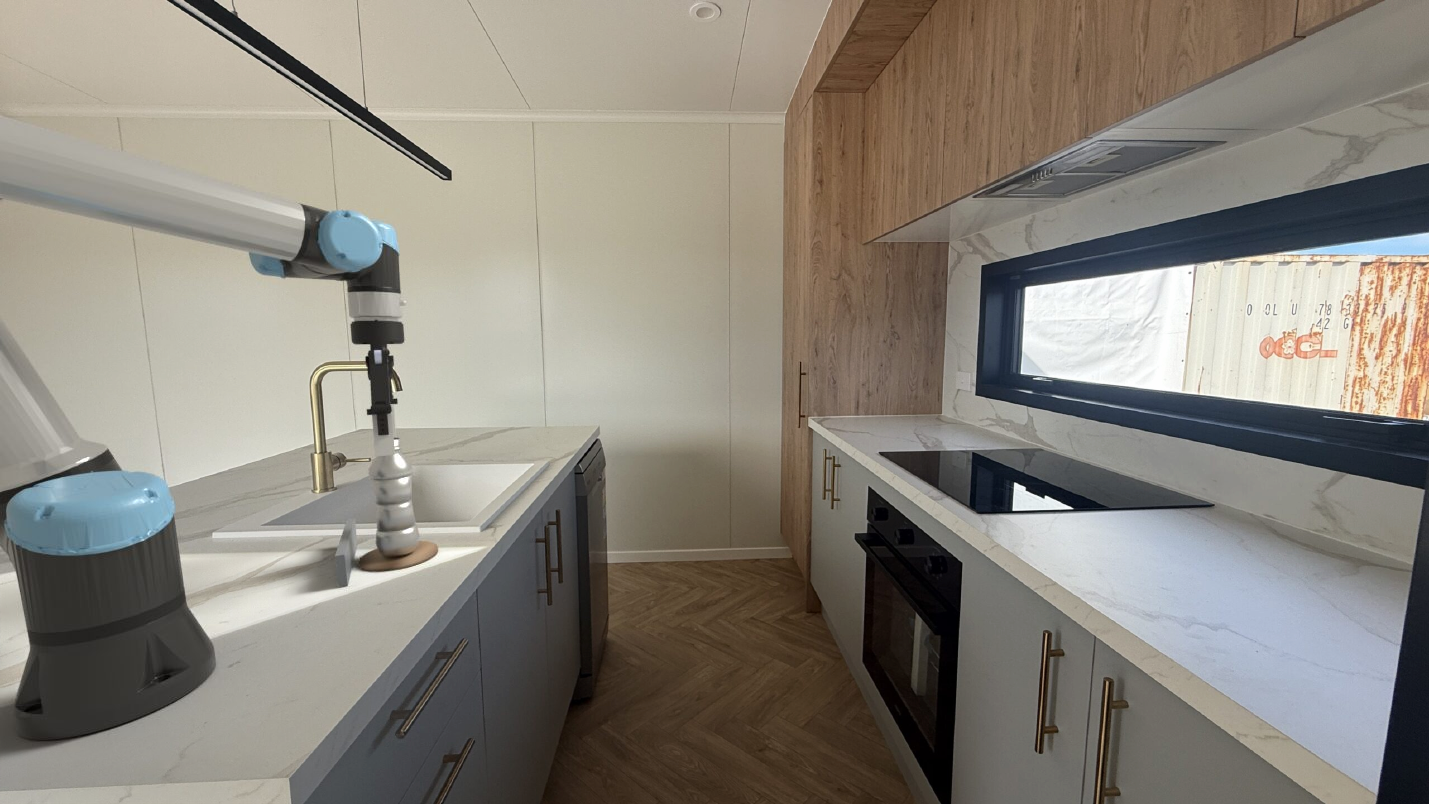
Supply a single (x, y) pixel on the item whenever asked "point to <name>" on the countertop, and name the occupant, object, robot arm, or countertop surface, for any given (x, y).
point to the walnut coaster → (398, 558)
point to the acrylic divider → (346, 553)
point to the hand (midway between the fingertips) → (386, 448)
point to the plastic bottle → (394, 503)
